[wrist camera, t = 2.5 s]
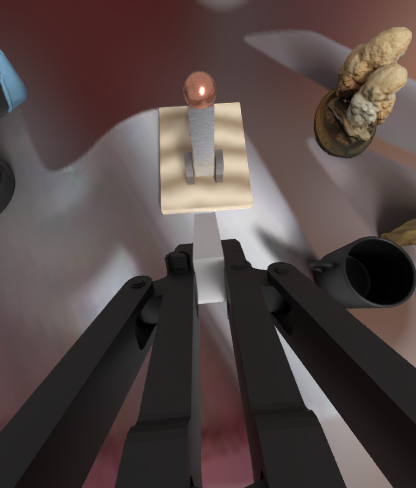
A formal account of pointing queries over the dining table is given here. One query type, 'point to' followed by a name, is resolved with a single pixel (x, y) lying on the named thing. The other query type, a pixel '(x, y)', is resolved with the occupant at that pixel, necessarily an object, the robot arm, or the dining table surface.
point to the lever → (201, 120)
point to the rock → (403, 234)
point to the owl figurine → (362, 94)
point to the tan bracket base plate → (183, 168)
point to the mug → (367, 274)
